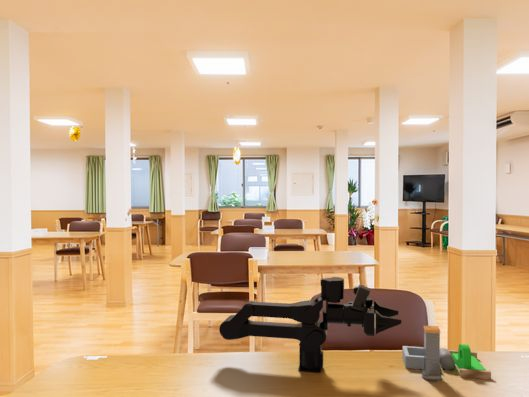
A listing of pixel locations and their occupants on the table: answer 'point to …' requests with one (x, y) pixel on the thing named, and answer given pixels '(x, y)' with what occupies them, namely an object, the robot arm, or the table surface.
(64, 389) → the table surface
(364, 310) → the robot arm
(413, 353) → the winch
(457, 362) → the mechanical part
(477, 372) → the bay rails
